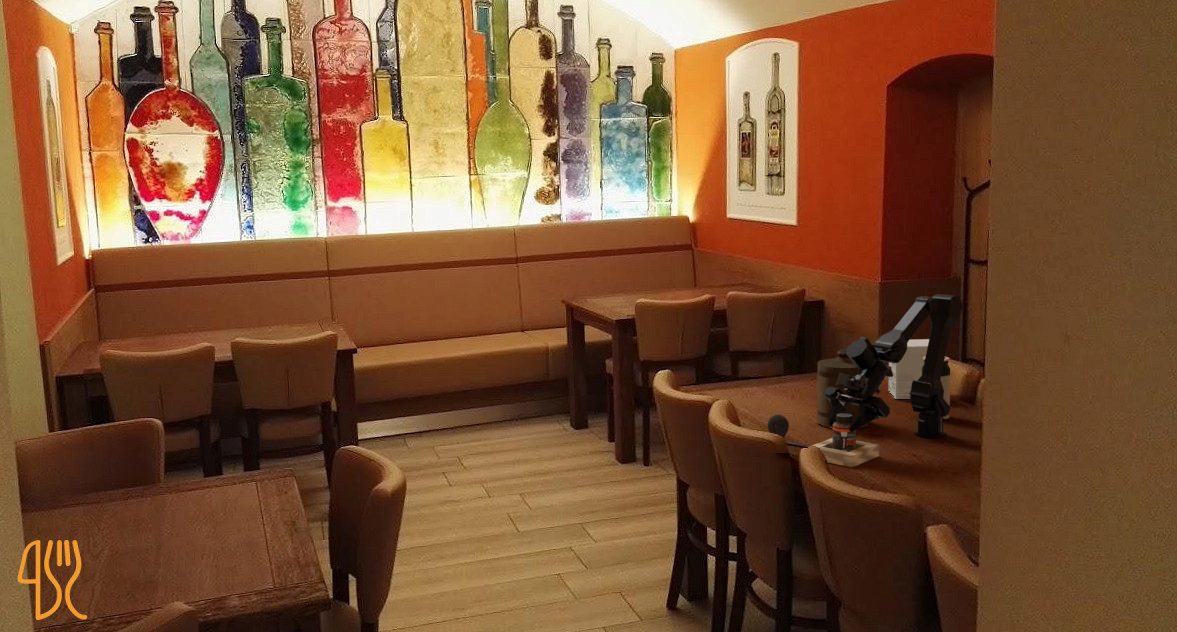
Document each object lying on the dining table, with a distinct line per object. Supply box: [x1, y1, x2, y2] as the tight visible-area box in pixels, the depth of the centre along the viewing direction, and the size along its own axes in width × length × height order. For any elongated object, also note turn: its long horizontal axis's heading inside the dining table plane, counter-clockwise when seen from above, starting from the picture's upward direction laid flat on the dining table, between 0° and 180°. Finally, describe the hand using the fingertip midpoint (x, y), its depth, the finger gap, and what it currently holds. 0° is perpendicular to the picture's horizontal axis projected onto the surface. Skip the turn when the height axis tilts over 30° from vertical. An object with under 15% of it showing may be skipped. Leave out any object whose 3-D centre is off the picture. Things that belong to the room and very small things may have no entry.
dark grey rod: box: [787, 441, 812, 448], centre depth 277 cm, size 12×1×1 cm, turn 49°
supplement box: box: [888, 338, 929, 399], centre depth 330 cm, size 13×13×18 cm
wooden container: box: [816, 348, 870, 429], centre depth 299 cm, size 15×15×22 cm
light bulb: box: [767, 414, 790, 439], centre depth 273 cm, size 6×6×10 cm
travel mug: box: [922, 355, 951, 420], centre depth 302 cm, size 8×8×18 cm
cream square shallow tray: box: [809, 437, 880, 468], centre depth 266 cm, size 13×13×3 cm
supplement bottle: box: [832, 413, 857, 452], centre depth 266 cm, size 6×6×11 cm
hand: (839, 428), depth 264 cm, fingers open, 7 cm apart
